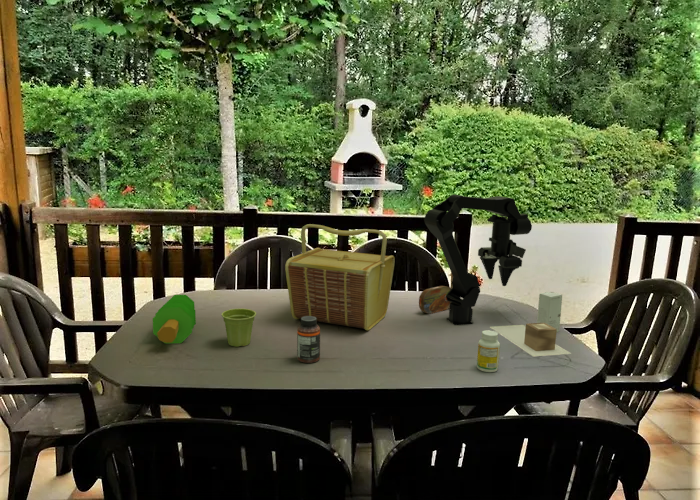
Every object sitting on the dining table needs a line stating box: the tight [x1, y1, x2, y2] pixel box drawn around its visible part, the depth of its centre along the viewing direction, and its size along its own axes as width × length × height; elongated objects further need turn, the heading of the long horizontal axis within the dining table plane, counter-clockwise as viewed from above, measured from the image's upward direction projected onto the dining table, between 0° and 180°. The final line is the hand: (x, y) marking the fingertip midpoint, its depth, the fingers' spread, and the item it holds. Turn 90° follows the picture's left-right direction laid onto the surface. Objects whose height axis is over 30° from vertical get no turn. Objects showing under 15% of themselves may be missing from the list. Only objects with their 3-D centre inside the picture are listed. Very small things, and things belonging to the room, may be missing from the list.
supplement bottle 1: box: [296, 316, 321, 364], centre depth 144 cm, size 6×6×11 cm
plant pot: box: [221, 308, 257, 348], centre depth 154 cm, size 9×9×9 cm
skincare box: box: [536, 291, 563, 333], centre depth 171 cm, size 6×4×12 cm
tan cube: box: [524, 322, 558, 351], centre depth 158 cm, size 6×6×6 cm
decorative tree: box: [152, 294, 197, 345], centre depth 161 cm, size 11×12×30 cm
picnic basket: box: [284, 223, 396, 331], centre depth 177 cm, size 29×26×30 cm
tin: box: [418, 285, 452, 315], centre depth 190 cm, size 15×3×8 cm, turn 129°
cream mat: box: [489, 324, 572, 358], centre depth 164 cm, size 12×25×1 cm, turn 14°
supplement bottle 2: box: [476, 329, 501, 373], centre depth 142 cm, size 5×5×10 cm
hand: (497, 282), depth 183 cm, fingers open, 9 cm apart
